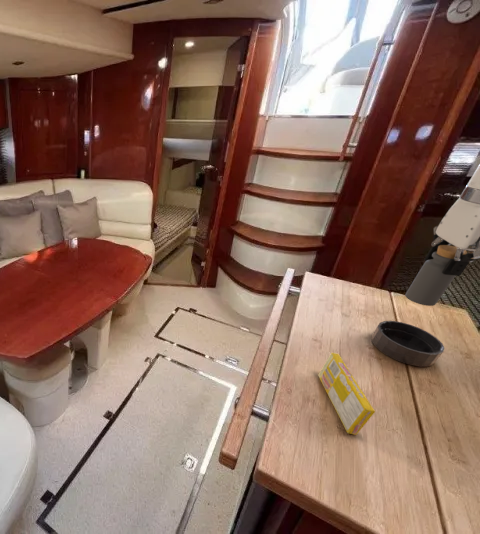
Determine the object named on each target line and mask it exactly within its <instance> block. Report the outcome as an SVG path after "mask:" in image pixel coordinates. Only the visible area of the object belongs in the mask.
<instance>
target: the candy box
mask: <svg viewBox="0 0 480 534" xmlns="http://www.w3.org/2000/svg"><path fill="white" fill-rule="evenodd" d="M317 376H318V378H319V380H320V382H321V384H322V386H323V388H324V390H325V392H326V394H327V396H328V398H329V400H330V402H331V404H332V406H333V408H334V410H335V412H336V414H337V416H338V418H339V419H340V421H341V423H342V426H343V427H344V430H345V431H346V434H348V435H349V434H350V435H353V436H357V435H358V433H359V432H360V431H361V430H362V429H363V428H364V426H365V425H366V424H367V423H368V421H369V420H370V419H371V418H372V417H373V415H374V414H375V413H376V411H375V409H374V408H373V406H372V404H371V403H370V401H369V400H368V398H367V397H366V395H365V393H364V391H363V390H362V389H361V387H360V386H359V384H358V382H357V381H356V379H355V378H354V376H353V374H352V373H351V371H350V369H349V367H348V366H347V365H346V363H345V362H344V360H343V358H342V357H341V355H340V354H339V353H337V352H330V354H329V356H328V358H327V359H326V361H325V363H324V364H323V366H322V368H321V369H320V371H319V373H318V374H317Z"/></svg>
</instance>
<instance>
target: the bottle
mask: <svg viewBox="0 0 480 534" xmlns="http://www.w3.org/2000/svg"><path fill="white" fill-rule="evenodd" d="M456 250H457V247H456V246H454V245H450V246H449V245H440V246H438V250H437V251H435V252H433V254H432V257H433V259H430V260H427V261H424V263H423V265H422V266H421V267H420V269H419V271H418V273H417V274H416V276H415V277H414V279H413V281H412V283H411V284H410V285H409V287H408V289H407V290H406V292H405V295H404V296H405V298H406V299H407V300H409V301H411V302H413V303H415V304H418V305H420V306H421V305H422V306H427V307H433V306H436V305H437V303H438V302H439V301H440V299H441V298H442V296H443V295H444V293H446V290H447V289H448V287H449V286H450V284H451V283H452V282H453V280H454V279H455V277H456V276H455V275H445V274H443V273H442V271H443V270H444V268H445V267H446V265H447V264H448V262H449V261H450V259H454V257H455V254H456ZM465 254H468V251H467V250H464V253H463V255H465Z"/></svg>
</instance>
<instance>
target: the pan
mask: <svg viewBox="0 0 480 534" xmlns="http://www.w3.org/2000/svg"><path fill="white" fill-rule="evenodd" d="M370 340H371V343H372V344H373V346H374V347H375V348H377V349H378V351H380V352H381V353H383V354H384V355H385V356H387V357H389V358H391V359H392V360H395V361H398V362H400V363H403V364H407V365H410V366H414V367H415V366H416V367H430V366H432V365H435V363H436V362H437V361H438V359H439V358H440V357H441V356H442V354H443V353H444V351H445V346H444V344H443V343H442V341H441V340H439V339H438V337H437V336H435V335H434V334H432V333H430V332H428V331H427V330H424V329H422V328H420V327H418V326H415V325H412V324H409V323H405V322H402V321H398V320H397V321H396V320H384V321H383V320H382V321H381V322H379V323H378V325H377V326H376V328H375V329H374V331H373V333H372V334H371V336H370Z"/></svg>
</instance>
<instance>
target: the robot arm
mask: <svg viewBox="0 0 480 534" xmlns="http://www.w3.org/2000/svg"><path fill="white" fill-rule="evenodd" d="M430 245H431V247H430V249H429V251H428V252H427V254H426V255H425V257H424V259H423V260H424V262H426V261H427V260H430V259H433V257H432V254H433V252H435V251H437V250H438V246H440V245H449V246H455V247H457V250H456V254H455V257H454V259H450V261H449V262H448V264H447V265H446V267H445V268H444V270H443V271H442V273H443V274H445V275H455V277H456V276H457V277H459V276H461V275H463V272H464V271H465V269H466V268H467V266H469V263H473V262H475V261H476V260H479V259H480V163H479V165H478V166H477V167H476V169H475V171H474V172H473V174H472V176H471V178H470V179H469V181H468V182H467V184H466V186H465V187H464V189H463V191H462V192H461V194H460V196H459V198H458V199H457V200H456V201H455V202H454V203H453V205H451V207H450V208H449V209H448V211H447V212H446V213H445V215H444V216H443V218H442V219H441V221H440V222H439V224H438V225H436V226H434V227H433V241H432V242H431V244H430ZM464 250H466V251H467V254H465V255H463V253H464Z"/></svg>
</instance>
